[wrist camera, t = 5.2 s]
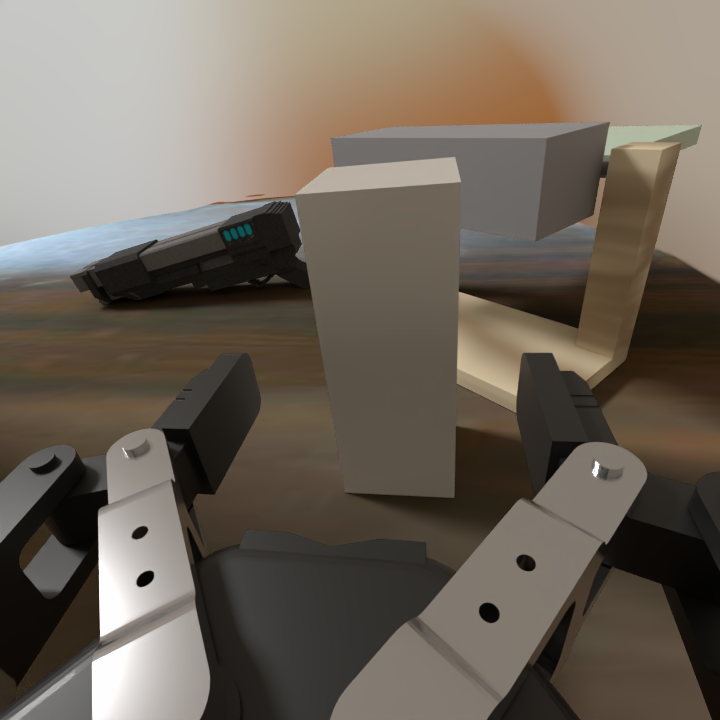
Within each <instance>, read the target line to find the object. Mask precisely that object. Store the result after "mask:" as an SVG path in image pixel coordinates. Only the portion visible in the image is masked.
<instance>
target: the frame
mask: <svg viewBox="0 0 720 720" xmlns="http://www.w3.org/2000/svg"><path fill="white" fill-rule="evenodd" d="M681 144H682V142H631V143H628V144H625V145H622V146H619V147H616V148H613V149H611V154H610V160H609V165H608V170H607V176H606V181H605V187H604V192H603V198H602V203H601V209H600V214H599V219H598V226H597V230H596V236H595V241H594V247H593V252H592V258H591V263H590V268H589V274H588V279H587V285H586V290H585V296H584V301H583V307H582V312H581V317H580V323H579V328H575V327H571V326H568V325H565V324H562V323H558V322H555V321H552V320H549V319H545V318H542V317H539V316H536V315H533V314H529V313H526V312H523V311H520V310H516V309H513V308H510V307H507V306H503V305H500V304H497V303H494V302H490V301H487V300H484V299H481V298H477V297H474V296H471V295H468V294H464V293H461V292H459V305H458V351H457V384H459V385H461V386H463V387H465V388H467V389H469V390H471V391H473V392H475V393H477V394H479V395H481V396H483V397H485V398H487V399H489V400H491V401H493V402H495V403H497V404H499V405H501V406H503V407H505V408H507V409H509V410H511V411H513V412H515V413H516V399H517V390H518V381H519V372H520V363H521V357H522V354H523V353H553V355H554V357H555V360H556V362H557V365H558V367H559V370H560V371H574V372H575V373H577V374H578V375H579V376H580V377H581V378H583V379H584V380H585V381H586V382H587V383H588V385H589V387H590V389H593V388H594V387H595V386H596V385H597V384H598V383H600V382H601V381H602V380H603V379H604V378H605V377H606V376H608V375H609V374H610V373H611V372H612V371H613V370H615V369H616V368H617V367H618V366H619V365H620V364H622V363H623V362H624V361H625V360H626V357H627V353H628V349H629V345H630V341H631V337H632V334H633V330H634V326H635V322H636V318H637V314H638V310H639V307H640V303H641V299H642V295H643V291H644V287H645V283H646V279H647V276H648V272H649V268H650V264H651V260H652V256H653V252H654V248H655V244H656V241H657V236H658V233H659V229H660V225H661V221H662V217H663V214H664V210H665V206H666V202H667V198H668V194H669V190H670V186H671V183H672V179H673V175H674V171H675V167H676V163H677V159H678V155H679V151H680V148H681Z"/></svg>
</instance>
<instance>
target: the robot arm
mask: <svg viewBox="0 0 720 720" xmlns="http://www.w3.org/2000/svg"><path fill="white" fill-rule="evenodd" d="M260 404H261V397H260V392H259V388H258V384H257V381H256V377H255V373H254V370H253V366H252V362H251V359H250V357H249V355H248V354H246V353H223V354H221V355H220V356H219V357H218V358H217V359H216V361H215V362H214V363H213V364H212V366H211V367H210V368H209V369H205V370H204V371H202V372H201V373H199V374H198V375H196V376H195V377H194V378H192V379H191V380H190V382H189V383H188V384H187V385H186V386H185V388H184V389H183V391H181V392H180V394H179V395H178V396H177V397H176V400H174V401H173V402H172V403H171V405H170V406H169V407H168V408H167V409H166V411H165V412H164V413H163V414H162V415H161V417H160V418H159V419H158V420H157V421H156V423H155V424H154V425H153V426H152V427H151V429H142V430H138V431H135V432H132V433H130V434H128V435H126V436H124V437H122V438H121V439H119V440H118V441H117V442H116V443H114V444H113V445H112V447H111V448H110V449H109V451H108V453H107V454H103V455H98V456H93V457H88V458H83V459H80V457H79V455H78V454H77V452H76V450H75V449H74V448H73V447H72V446H69V445H56V446H52V447H48V448H46V449H43V450H41V451H38V452H36V453H35V454H33V455H31V456H30V457H28V458H27V459H25V460H24V461H23V462H22V463H20V464H19V465H18V466H17V467H16V468H15V469H14V470H13V471H12V472H11V473H10V474H9V475H8V476H7V477H6V478H5V479H4V480H3V481H2V482H1V483H0V720H580V719H579V718H578V716H577V715H576V714H575V713H574V711H573V710H572V709H571V707H570V706H569V705H568V704H567V702H566V701H565V700H564V699H563V697H562V696H561V695H560V694H559V692H558V691H557V690H556V689H555V687H554V686H553V685H552V684H553V682H554V680H555V678H556V677H557V675H558V673H559V671H560V670H561V668H562V666H563V664H564V662H565V660H566V658H567V656H568V654H569V652H570V650H571V648H572V646H573V643H574V641H575V639H576V636H577V634H578V632H579V630H580V628H581V626H582V625H583V623H584V621H585V619H586V617H587V616H588V614H589V612H590V610H591V609H592V607H593V605H594V603H595V602H596V600H597V598H598V596H599V595H600V593H601V591H602V589H603V588H604V586H605V584H606V582H607V581H608V579H609V577H610V575H611V574H612V572H613V570H614V568H617V569H620V570H623V571H626V572H629V573H632V574H634V575H637V576H640V577H643V578H646V579H649V580H652V581H654V582H657V583H660V584H662V587H663V589H664V592H665V595H666V597H667V600H668V603H669V605H670V608H671V611H672V614H673V616H674V619H675V622H676V624H677V627H678V630H679V632H680V635H681V638H682V640H683V643H684V646H685V648H686V651H687V654H688V656H689V659H690V662H691V665H692V667H693V670H694V673H695V675H696V678H697V681H698V683H699V686H700V689H701V691H702V694H703V697H704V699H705V702H706V705H707V707H708V710H709V713H710V716H711V718H712V720H720V472H712V473H708V474H706V475H704V476H702V477H701V478H700V479H699V481H698V483H697V485H696V486H694V485H690V484H686V483H682V482H678V481H674V480H670V479H666V478H663V477H659V476H656V475H654V474H651V473H649V472H647V471H646V468H645V466H644V465H643V463H642V462H641V461H640V460H639V459H638V458H637V457H636V456H635V455H634V454H632V453H631V452H629V451H628V450H626V449H624V448H622V447H619V446H618V444H617V442H616V440H615V438H614V436H613V434H612V432H611V430H610V428H609V426H608V424H607V422H606V420H605V418H604V416H603V414H602V411H601V409H599V405H598V403H597V401H596V399H595V398H594V397H593V393H592V391H591V389H590V387H589V385H588V383H587V382H586V381H585V380H584V379H583V378H581V377H580V376H579V375H578V374H577V373H575V372H574V371H560V370H559V367H558V365H557V362H556V360H555V357H554V355H553V353H523V354H522V357H521V363H520V372H519V381H518V390H517V399H516V413H517V421H518V425H519V429H520V434H521V438H522V443H523V447H524V451H525V456H526V460H527V464H528V469H529V473H530V477H531V482H532V486H533V490H534V495H535V498H534V499H533V500H532V501H531V500H530V499H528V498H526V497H523V498H521V499H520V500H518V501H517V502H516V503H515V505H514V506H513V507H512V508H511V509H510V510H509V512H508V513H507V514H506V515H505V516H504V517H503V519H502V520H501V521H500V522H499V523H498V524H497V526H496V527H495V528H494V529H493V530H492V531H491V533H490V534H489V535H488V536H487V537H486V538H485V540H484V541H483V542H482V543H481V544H480V546H479V547H478V548H477V549H476V550H475V551H474V553H473V554H472V555H471V556H470V557H469V558H468V560H467V561H466V562H465V563H464V564H463V565H462V567H461V568H460V569H459V570H458V571H457V572H456V571H454V570H453V569H451V568H449V567H448V566H446V565H444V564H442V563H440V562H437V561H435V560H432V559H429V558H427V557H426V542H414V541H400V540H386V539H376V540H370V541H364V542H357V543H351V544H345V545H339V546H327V545H324V544H321V543H318V542H315V541H312V540H309V539H306V538H303V537H300V536H297V535H295V534H292V533H289V532H276V531H262V530H249V529H247V530H246V532H245V535H244V537H243V539H242V542H241V544H238V545H234V546H230V547H227V548H224V549H222V550H219V551H216V552H214V553H212V554H210V555H209V553H208V549H207V546H206V542H205V538H204V535H203V531H202V527H201V524H200V520H199V516H198V512H197V509H196V506H195V504H194V502H193V501H194V499H195V497H196V495H197V494H213V495H215V493H216V491H217V489H218V487H219V485H220V484H221V482H222V480H223V478H224V476H225V474H226V472H227V471H228V469H229V467H230V465H231V463H232V461H233V460H234V458H235V456H236V454H237V452H238V450H239V448H240V447H241V445H242V443H243V441H244V439H245V437H246V436H247V434H248V432H249V430H250V428H251V426H252V424H253V423H254V421H255V419H256V417H257V415H258V413H259V410H260ZM43 522H44V523H45V524H46V525H47V527H48V528H49V530H50V531H51V532H52V535H51V536H50V538H49V539H48V540H47V541H46V543H45V544H44V545H43V547H42V548H41V549H40V550H39V552H38V553H37V554H36V555H35V557H34V558H33V559H32V561H31V562H30V563H29V564H28V566H27V567H26V568H25V569H24V571H22V570H21V568H20V566H19V556H20V553H21V550H22V549H23V547H24V545H25V544H26V543H27V542H28V540H29V539H30V538H31V537H32V536H33V534H34V533H35V532H36V531H37V530H38V528H39V527H40V526H41V525H42V524H43ZM98 561H99V596H100V636H99V637H97V638H96V639H95V640H93V641H92V642H91V643H89V644H88V645H87V646H85V647H84V648H83V649H82V650H80V651H79V652H78V653H76V654H75V655H74V656H72V657H71V658H70V659H68V660H67V661H66V662H64V663H63V664H62V665H61V666H59V667H58V668H57V669H55V670H54V671H53V672H51V673H50V674H49V675H47V676H46V677H45V678H43V679H42V680H41V681H40V682H38V683H37V684H36V685H34V686H33V687H32V688H30V689H29V690H28V691H26V692H25V693H24V694H22V695H21V696H20V697H19V698H17V699H16V700H15V696H16V688H17V686H18V685H19V683H20V682H21V680H22V678H23V677H24V675H25V674H26V672H27V671H28V669H29V668H30V666H31V664H32V663H33V661H34V660H35V658H36V657H37V655H38V654H39V652H40V651H41V649H42V647H43V646H44V644H45V643H46V641H47V640H48V638H49V637H50V635H51V634H52V632H53V630H54V629H55V627H56V626H57V624H58V623H59V621H60V620H61V618H62V617H63V615H64V613H65V612H66V610H67V609H68V607H69V606H70V604H71V603H72V601H73V600H74V598H75V596H76V595H77V593H78V592H79V590H80V589H81V587H82V586H83V584H84V583H85V581H86V579H87V578H88V576H89V575H90V573H91V572H92V570H93V569H94V567H95V565H96V564H97V562H98ZM14 700H15V701H14Z"/></svg>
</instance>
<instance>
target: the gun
mask: <svg viewBox="0 0 720 720" xmlns="http://www.w3.org/2000/svg"><path fill="white" fill-rule="evenodd" d="M299 232H300V228H299V226H298V223H297V220H296V218H295V215H294V212H293V209H292V207H291V204H290V202H289V203H287V202H285V203H284V202H281V201H279V202H276V201H275V202H272V203H269V204H266V205H264V206H263V207H260V208H257V209H254V210H251V211H248V212H245V213H241V214H238V215H235V216H232V217H231V218H230V219H228V220H225V221H222V222H218V223H215V224H212V225H209V226H206V227H203V228H199V229H196V230H193V231H190V232H187V233H184V234H181V235H177V236H174V237H171V238H168V239H165V240H162V241H157V239H156V240H153V241H150V242H147V243H144V244H141V245H138V246H134V247H131V248H128V249H125V250H122V251H119V252H116V253H114V254H112V255H111V256H109V257H108V258H105V259H101V260H98V261H95V262H92V263H91V264H89V265H87V266H86V267H84V268H83V269H81V270H79V271H77V272H76V273H74V274H72V275H71V276H70V277H71V279H72V280H73V282H74V283H75V285H76V286H77V288H78V289H79V291H80V292H84V291H87V290H90V291H91V293H92V294H93V296H94V297H95V298H97V299H99V303H102V304H109V303H110V302H113V300H115V299H118V298H121V297H125V298H129V299H133V300H135V301H137V300H141V299H144V298H148V297H151V296H155V295H158V294H161V293H165V291H166V290H168V289H172V288H175V287H178V286H182V285H185V284H189V283H192V284H193V286H194V288H195V289H196V288H199V287H203V286H206V285H208V287H209V289H210V291H215V290H218V289H222V288H225V287H229V286H232V285H236V284H239V283H243V282H246V281H248V283H251V284H252V285H253V284H254V285H255V286H257V287H258V288H259V287H263V286H264V285H265V284H266V282H268V281H269V280H270V279H271V277H273V276H274V275H276V274H277V275H278V276H280V277H281V278H283V279H284V280H285V279H286V280H287V281H289V282H292V283H294V284H295V285H297V286H298V287H299V286H300V287H301V288H309V287H310V282H309V276H308V270H307V264H306V263H305V262H302V261H301V260H299V259H298V258H297V257H296V256H295V254H296V253H297V252H298V250H299V248H300V246H301V244H302V243H301V240H300V238H299V235H298V234H299ZM268 275H269V276H268ZM264 276H265V277H266V276H267V278H265V279H264V280H263V281H260V280H259V279H258V280H257V278H261V277H264Z"/></svg>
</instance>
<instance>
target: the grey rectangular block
mask: <svg viewBox="0 0 720 720" xmlns="http://www.w3.org/2000/svg"><path fill="white" fill-rule="evenodd" d="M295 199H296V205H297V211H298V217H299V223H300V229H301V235H302V241H303V246H304V252H305V258H306V264H307V270H308V276H309V282H310V288H311V294H312V300H313V306H314V312H315V318H316V324H317V329H318V335H319V341H320V347H321V353H322V359H323V365H324V371H325V377H326V383H327V389H328V395H329V401H330V407H331V413H332V418H333V424H334V430H335V436H336V442H337V448H338V454H339V460H340V466H341V472H342V478H343V484H344V490H345V493H364V494H385V495H405V496H425V497H445V498H454V491H455V444H456V398H457V351H458V305H459V258H460V212H461V179H460V175H459V171H458V167H457V163H456V159H455V157H449V158H438V159H426V160H414V161H402V162H391V163H379V164H367V165H356V166H344V167H332V168H328V169H326V170H325V171H324V172H323V173H321V174H320V175H319V176H317V177H316V178H315V179H314V180H313V181H311V182H310V183H309V184H308V185H306V186H305V187H304V188H302V189H301V190H300V191H299V192H297V193H296V194H295Z"/></svg>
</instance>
